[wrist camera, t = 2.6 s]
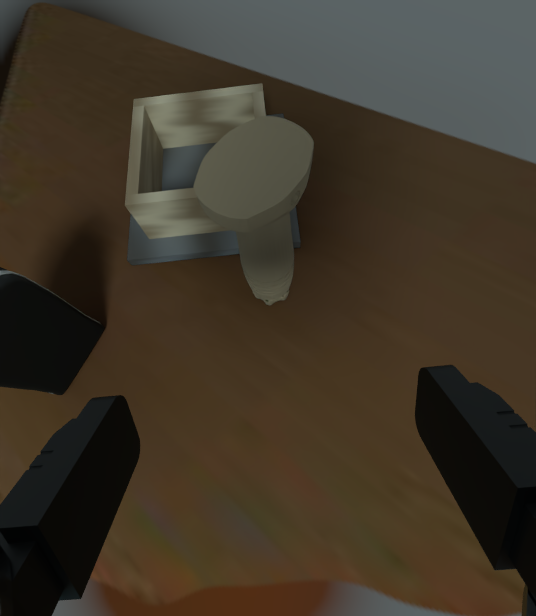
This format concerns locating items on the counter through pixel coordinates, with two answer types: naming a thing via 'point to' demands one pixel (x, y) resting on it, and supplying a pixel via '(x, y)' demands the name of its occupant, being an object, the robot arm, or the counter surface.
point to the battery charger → (41, 336)
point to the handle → (258, 196)
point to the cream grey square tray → (182, 172)
